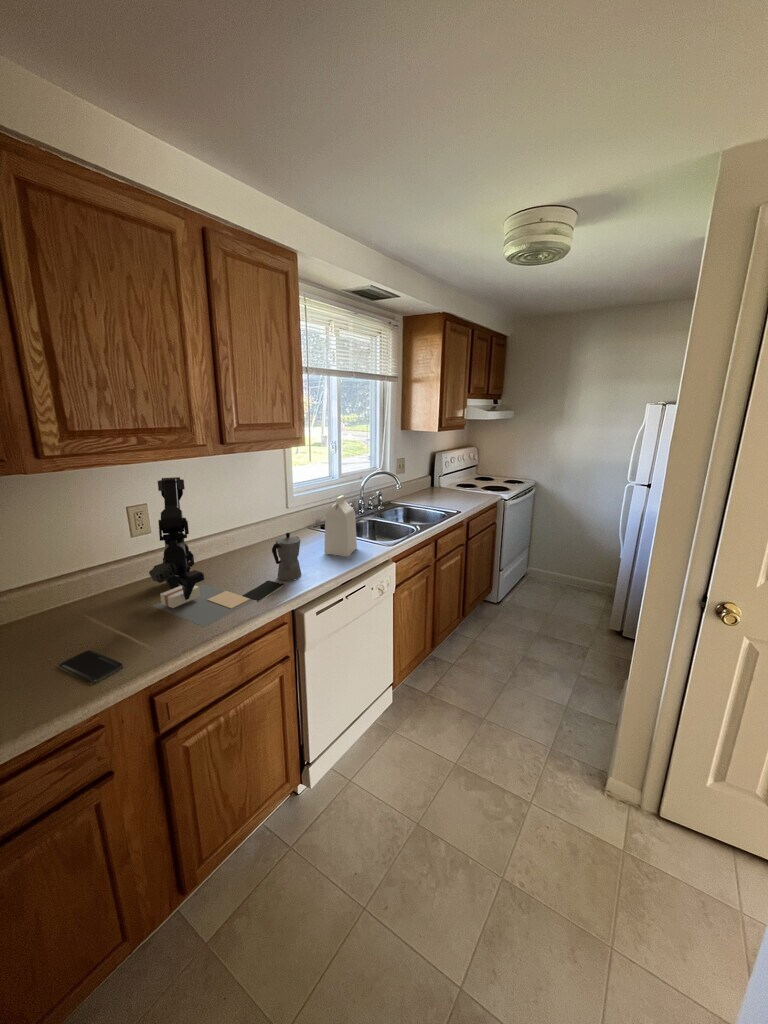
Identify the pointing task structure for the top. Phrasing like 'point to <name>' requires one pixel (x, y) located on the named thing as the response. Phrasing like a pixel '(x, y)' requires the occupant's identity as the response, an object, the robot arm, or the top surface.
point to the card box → (178, 596)
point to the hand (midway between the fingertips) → (180, 597)
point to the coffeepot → (287, 557)
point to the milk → (340, 529)
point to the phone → (90, 666)
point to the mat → (207, 606)
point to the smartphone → (263, 590)
